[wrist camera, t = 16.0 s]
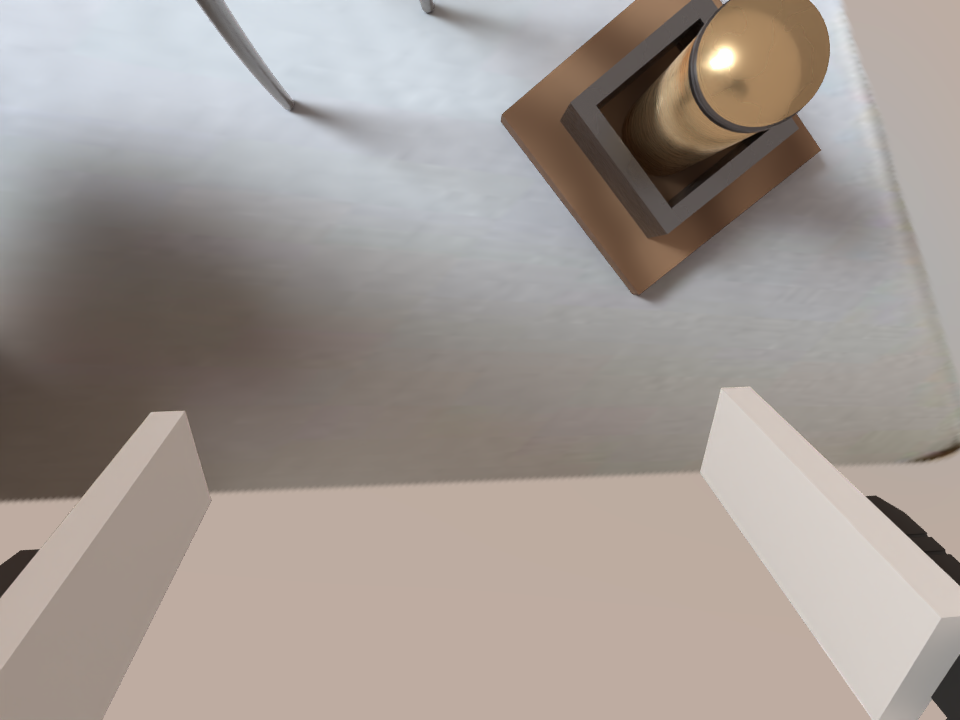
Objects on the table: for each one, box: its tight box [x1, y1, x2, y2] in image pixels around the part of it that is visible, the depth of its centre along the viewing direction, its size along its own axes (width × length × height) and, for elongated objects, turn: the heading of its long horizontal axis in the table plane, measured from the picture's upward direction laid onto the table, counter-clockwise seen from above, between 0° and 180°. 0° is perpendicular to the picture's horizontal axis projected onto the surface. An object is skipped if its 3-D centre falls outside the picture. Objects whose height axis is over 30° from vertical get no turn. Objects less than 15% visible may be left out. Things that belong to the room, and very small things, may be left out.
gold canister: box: [622, 0, 830, 177], centre depth 27 cm, size 5×5×12 cm
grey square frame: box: [560, 0, 799, 238], centre depth 31 cm, size 9×9×4 cm
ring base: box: [501, 0, 821, 295], centre depth 34 cm, size 14×14×2 cm
